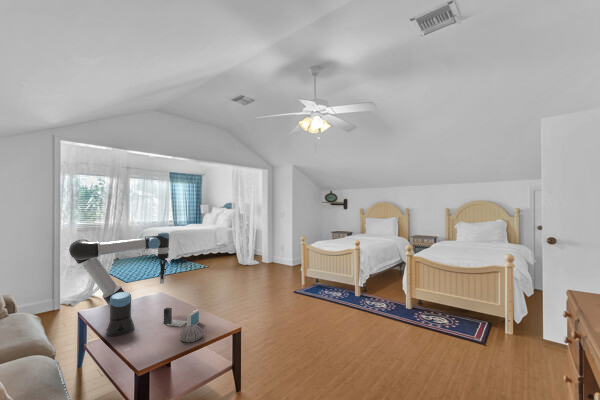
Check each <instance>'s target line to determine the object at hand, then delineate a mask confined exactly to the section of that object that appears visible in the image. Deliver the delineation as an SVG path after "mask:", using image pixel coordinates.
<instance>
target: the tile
mask: <svg viewBox="0 0 600 400" xmlns="http://www.w3.org/2000/svg"><path fill="white" fill-rule="evenodd" d="M186 321H187V323H186V327H187V326H189V325H192V324H194V325H198V324H199V323H200V309H194V310H193V311H192V312H189V313H188V314H186Z"/></svg>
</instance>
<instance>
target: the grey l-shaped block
mask: <svg viewBox="0 0 600 400" xmlns="http://www.w3.org/2000/svg"><path fill="white" fill-rule="evenodd" d="M172 312H173V309H172V307H165V308H163V324H165V325H166V326H169V327H170V326H171V327H179V328H182V327H183V326H185V325H187V320H180V319H173V316H172V315H173V313H172Z"/></svg>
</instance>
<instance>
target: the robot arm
mask: <svg viewBox="0 0 600 400" xmlns="http://www.w3.org/2000/svg"><path fill="white" fill-rule="evenodd" d="M169 247H170V233H168V232H158V234H157V235H144V236H140V237H139V238H135V239H125V240H115V241H107V242H99V241H89V240H88V239H77V240H74V241H73V242H72V243H71V244H70V245H69V249H68V250H69V255H70V256H71V258H73V259H74V261H75V262H76V264H78V265H82V267H83V268H84V269H85V271H86V272H87V273H88V275H89V276H90V277H91V279H92V280H93V282H95V284H96V285H97V287H98V289H99V290H100V291H101V292H102V298H103V300H104V302H105V303H106V304H107V305H108V308H109V322H108V324H107V328H106V332H105V333H106V335H107V336H108V337H109V336H110V337H115V336H122V335H125V334H128V333H131V332H132V331H133V330H134V329H135V324H134V321H133V318H132V294H131V293H130V292H126V291H125V290H124V289H123V288H122V286H121V285H117V284H116V282H115V280H114V279H113V278H112V277H111V274H109V272H108V271H107V269H106V268H105V266H104V265H103V264H102V262H101V261H100V259H99V257H100V256H102V255H109V254H110V255H111V254H117V253H118V254H119V253H125V252H133V251H139V250H140V251H141V250H147V249H152V250H154V249H157V259H158V260H160V261H159V266H160V271H159V274H158V275H159V284H165V279H166V270H167V269H166V263H167V260H166V259H169V256H170V255H169V251H170V248H169Z"/></svg>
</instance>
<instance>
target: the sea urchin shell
mask: <svg viewBox="0 0 600 400" xmlns="http://www.w3.org/2000/svg"><path fill="white" fill-rule="evenodd" d="M203 333H204V331H203V329H202V328H201V326H199V325H198V324H197V325H194V324H192V325H189V326H187V325H186V326H185V327H184V328H182V329H181V331H180V333H179V339H180V341H181V342H184V343H194V342H197V341H198V340H200V339H202V337H203Z"/></svg>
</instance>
